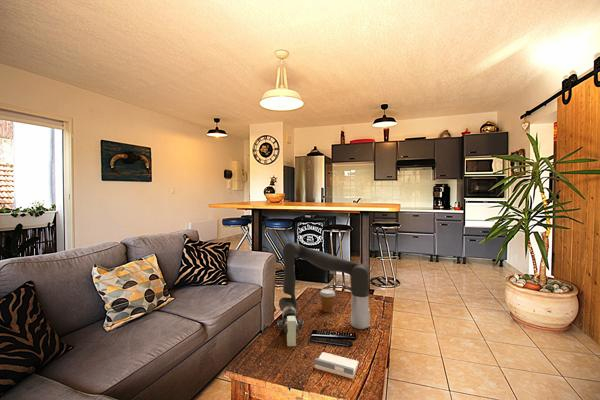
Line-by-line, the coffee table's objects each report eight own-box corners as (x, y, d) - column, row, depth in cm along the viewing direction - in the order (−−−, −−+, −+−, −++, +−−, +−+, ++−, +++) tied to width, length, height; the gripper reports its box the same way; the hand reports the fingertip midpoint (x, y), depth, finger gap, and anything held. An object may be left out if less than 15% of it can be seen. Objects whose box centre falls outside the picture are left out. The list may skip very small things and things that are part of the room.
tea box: (294, 339, 136) (295, 315, 136) (295, 346, 131) (296, 320, 131) (286, 340, 136) (287, 316, 136) (287, 346, 130) (287, 321, 130)
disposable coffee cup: (330, 314, 165) (331, 295, 165) (316, 311, 170) (317, 291, 170) (337, 309, 173) (337, 290, 173) (323, 306, 178) (324, 287, 178)
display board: (322, 355, 123) (322, 347, 123) (358, 364, 117) (358, 356, 117) (314, 368, 114) (314, 359, 114) (352, 379, 108) (352, 370, 108)
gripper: (276, 309, 147) (276, 324, 130) (302, 308, 148) (306, 323, 131) (276, 323, 147) (276, 340, 130) (302, 322, 148) (306, 338, 131)
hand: (291, 331), depth 130 cm, fingers closed on tea box, 4 cm apart
